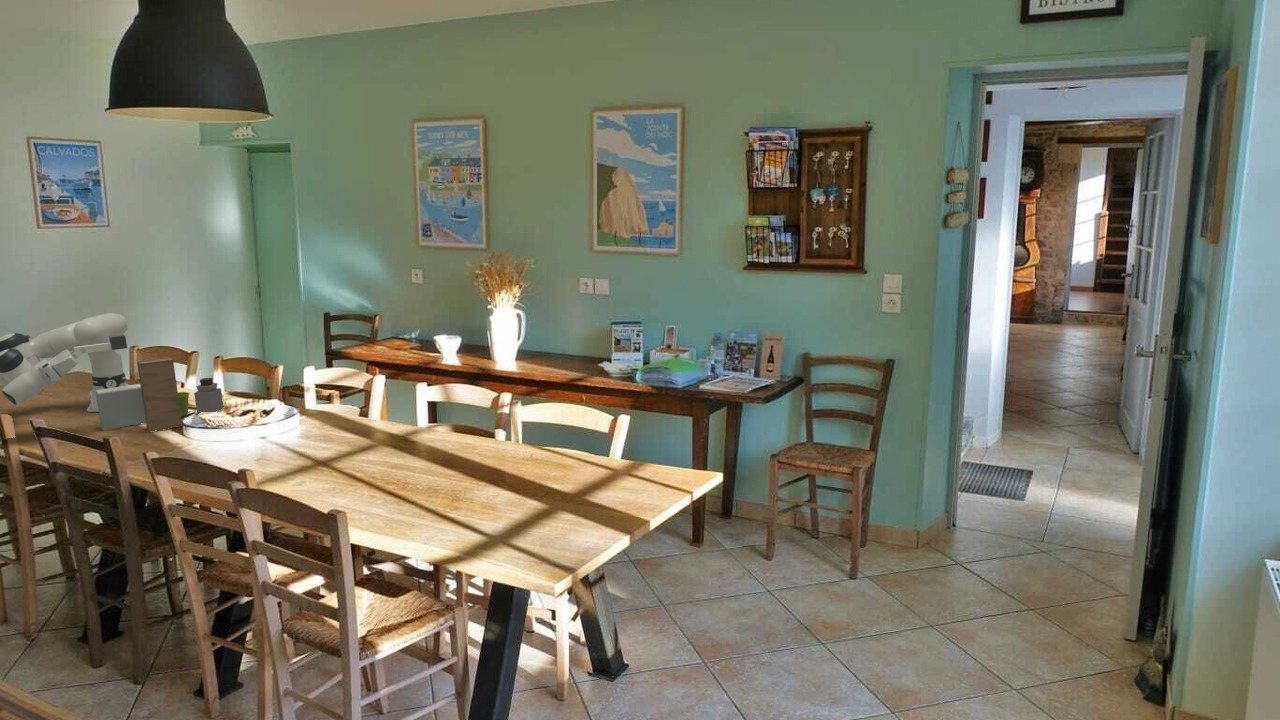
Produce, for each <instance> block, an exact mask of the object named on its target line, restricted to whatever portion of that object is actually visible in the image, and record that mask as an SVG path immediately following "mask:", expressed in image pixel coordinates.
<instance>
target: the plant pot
mask: <svg viewBox="0 0 1280 720" xmlns="http://www.w3.org/2000/svg"><path fill="white" fill-rule="evenodd" d="M190 394H191V393H190V392H188V391H187V392H186V391H178V399H179V406H180V413H181V417H186V416H188V415H189V398H190ZM185 415H186V416H185Z"/></svg>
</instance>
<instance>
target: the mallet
mask: <svg viewBox="0 0 1280 720" xmlns="http://www.w3.org/2000/svg"><path fill="white" fill-rule="evenodd" d="M126 339H127V338H126V335H125V333H124V334H122V335H113V336H109V342H110V343H103V344H94V345H86V346H77V347H73V348H74V353H75V352H76V351H78V350H79V349H80V348H82V347H83V348H84V349H85V350H86V352H84V353H83V354H88V353H89V352H97V351H105V350H115V351H116V350H117V351H118V350H123V349H128V345H127V343H128V342H127V340H126Z"/></svg>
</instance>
